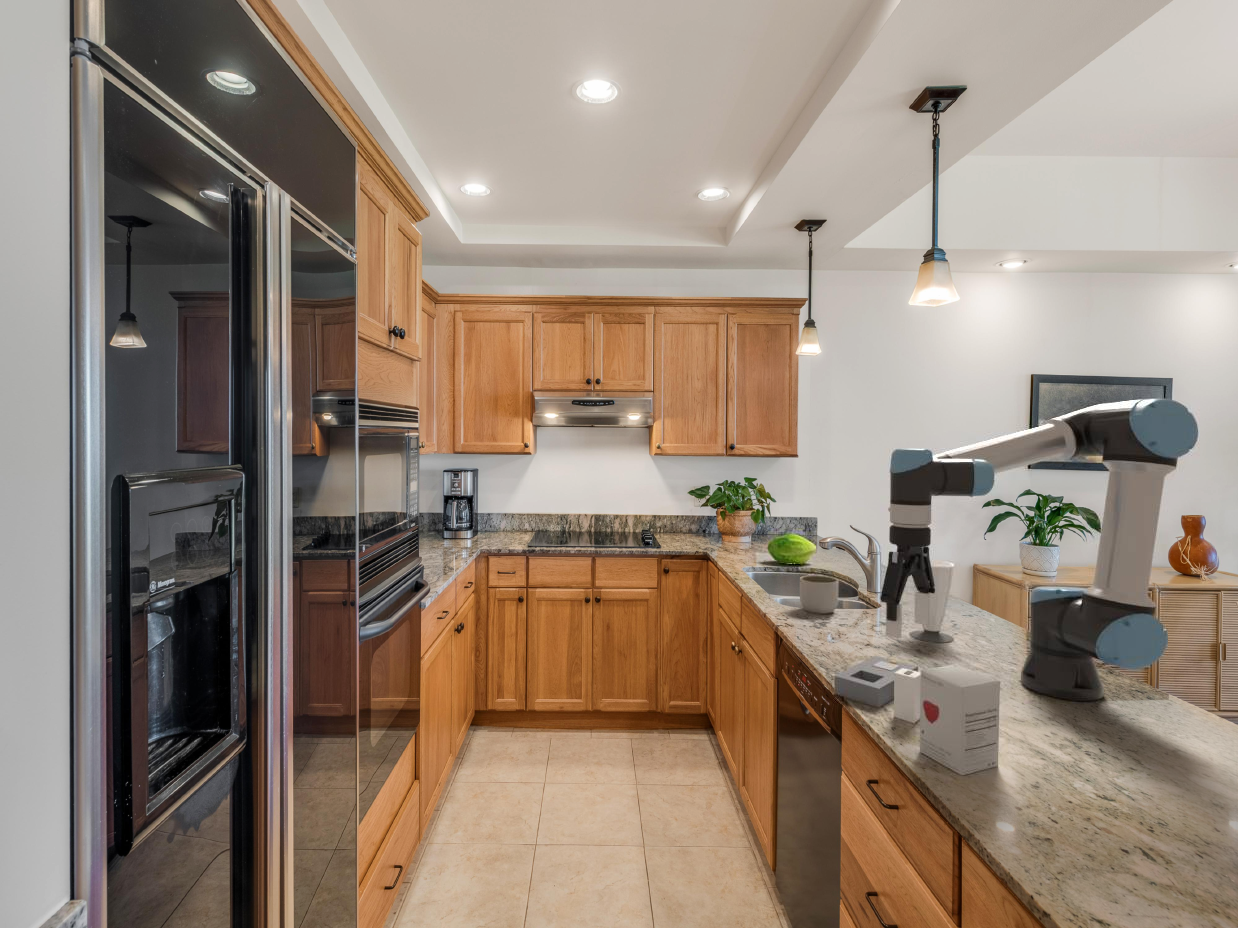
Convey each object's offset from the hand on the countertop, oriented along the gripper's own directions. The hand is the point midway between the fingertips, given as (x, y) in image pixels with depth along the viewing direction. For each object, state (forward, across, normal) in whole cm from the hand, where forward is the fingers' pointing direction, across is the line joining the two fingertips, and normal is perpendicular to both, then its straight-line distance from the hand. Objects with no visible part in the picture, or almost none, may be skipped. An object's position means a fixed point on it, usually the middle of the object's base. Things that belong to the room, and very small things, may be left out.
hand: (908, 630), depth 123 cm
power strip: (+18, -10, -11) cm, 23 cm away
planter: (+18, -62, -55) cm, 85 cm away
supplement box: (+18, +11, +13) cm, 25 cm away
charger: (+18, 0, 0) cm, 18 cm away
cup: (+18, -60, -18) cm, 65 cm away
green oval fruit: (+18, -132, -109) cm, 172 cm away
